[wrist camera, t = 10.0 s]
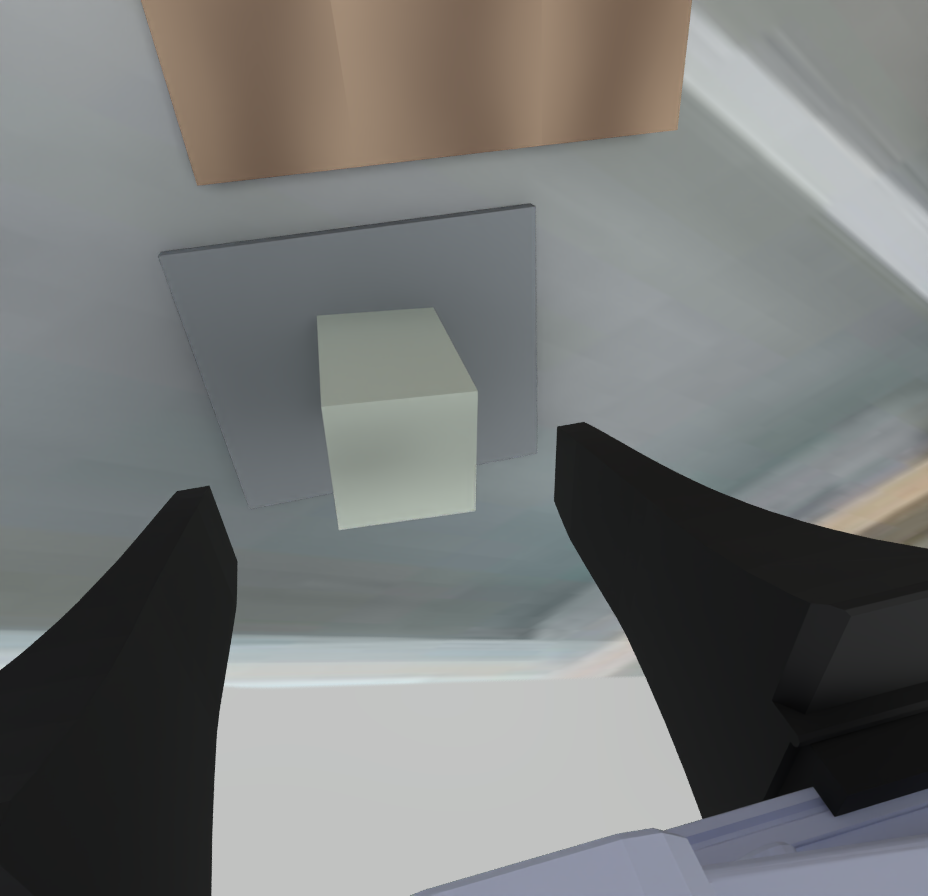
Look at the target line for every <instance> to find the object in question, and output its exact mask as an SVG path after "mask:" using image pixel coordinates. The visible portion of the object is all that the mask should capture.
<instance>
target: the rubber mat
mask: <svg viewBox="0 0 928 896" xmlns="http://www.w3.org/2000/svg"><path fill="white" fill-rule="evenodd" d="M158 258H159V260H160V263H161V266H162V269H163V271H164V274H165V277H166V280H167V283H168V285H169V288H170V291H171V294H172V296H173V299H174V302H175V305H176V307H177V310H178V313H179V316H180V318H181V321H182V324H183V327H184V329H185V332H186V335H187V338H188V341H189V343H190V346H191V349H192V352H193V354H194V357H195V360H196V363H197V365H198V368H199V371H200V374H201V376H202V379H203V382H204V385H205V388H206V390H207V393H208V396H209V399H210V401H211V404H212V407H213V410H214V412H215V415H216V418H217V421H218V423H219V426H220V429H221V432H222V435H223V437H224V440H225V443H226V446H227V448H228V451H229V454H230V457H231V459H232V462H233V465H234V468H235V470H236V473H237V476H238V479H239V481H240V484H241V487H242V490H243V493H244V495H245V498H246V501H247V504H248V506H249V509H255V508H260V507H265V506H270V505H275V504H280V503H285V502H290V501H296V500H301V499H306V498H311V497H316V496H321V495H326V494H332V493H333V486H332V479H331V472H330V465H329V458H328V451H327V444H326V437H325V430H324V423H323V416H322V409H321V393H320V372H319V352H318V331H317V316H319V315H333V314H347V313H361V312H375V311H389V310H403V309H417V308H431V307H433V308H434V310H435V312H436V313H437V315H438V317H439V319H440V321H441V323H442V325H443V327H444V328H445V330H446V332H447V334H448V336H449V338H450V340H451V342H452V343H453V345H454V347H455V349H456V351H457V353H458V355H459V357H460V358H461V360H462V362H463V364H464V366H465V368H466V370H467V372H468V373H469V375H470V377H471V379H472V381H473V383H474V385H475V387H476V388H477V390H478V410H477V457H476V465H480V464H485V463H491V462H496V461H501V460H506V459H511V458H516V457H521V456H526V455H532V454H537V347H536V206H534V205H532V204H524V205H517V206H509V207H501V208H494V209H486V210H478V211H471V212H463V213H455V214H448V215H440V216H432V217H425V218H417V219H410V220H402V221H394V222H387V223H379V224H371V225H364V226H356V227H348V228H341V229H333V230H325V231H318V232H310V233H302V234H295V235H287V236H280V237H272V238H264V239H257V240H249V241H241V242H234V243H226V244H218V245H211V246H203V247H195V248H188V249H180V250H172V251H165V252H161V253H160V254H159V256H158Z"/></svg>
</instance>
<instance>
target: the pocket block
mask: <svg viewBox="0 0 928 896" xmlns="http://www.w3.org/2000/svg"><path fill="white" fill-rule="evenodd" d="M141 2H142V5H143V9H144V12H145V15H146V18H147V22H148V25H149V28H150V32H151V35H152V38H153V41H154V45H155V48H156V51H157V55H158V58H159V61H160V64H161V68H162V71H163V74H164V78H165V81H166V84H167V87H168V91H169V94H170V97H171V101H172V104H173V107H174V110H175V114H176V117H177V120H178V123H179V127H180V130H181V133H182V137H183V140H184V143H185V146H186V150H187V153H188V156H189V160H190V163H191V166H192V169H193V173H194V176H195V179H196V183H197V186H199V185H207V184H216V183H224V182H233V181H242V180H250V179H259V178H267V177H276V176H285V175H293V174H302V173H310V172H319V171H328V170H336V169H345V168H353V167H362V166H371V165H379V164H388V163H396V162H405V161H414V160H422V159H431V158H439V157H448V156H457V155H465V154H474V153H482V152H491V151H500V150H508V149H517V148H525V147H534V146H543V145H551V144H560V143H568V142H577V141H586V140H594V139H603V138H611V137H620V136H629V135H637V134H646V133H654V132H663V131H672V130H677V128H678V119H679V110H680V101H681V93H682V84H683V75H684V66H685V57H686V48H687V40H688V31H689V22H690V13H691V4H692V0H141Z"/></svg>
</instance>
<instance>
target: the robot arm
mask: <svg viewBox="0 0 928 896" xmlns="http://www.w3.org/2000/svg"><path fill="white" fill-rule="evenodd" d="M554 502H555V505H556V507H557V509H558V512H559V514H560V517H561V519H562V522H563V524H564V527H565V529H566V531H567V533H568V536H569V538H570V540H571V542H572V543H573V545H574V547H575V549H576V550H577V552H578V554H579V555H580V557H581V559H582V561H583V562H584V564H585V566H586V567H587V569H588V571H589V572H590V574H591V576H592V577H593V579H594V581H595V582H596V584H597V586H598V587H599V589H600V591H601V592H602V594H603V596H604V597H605V599H606V601H607V602H608V604H609V606H610V607H611V609H612V611H613V612H614V614H615V616H616V617H617V619H618V621H619V623H620V625H621V627H622V628H623V630H624V632H625V634H626V636H627V638H628V640H629V642H630V644H631V647H632V649H633V651H634V653H635V655H636V657H637V660H638V662H639V664H640V666H641V668H642V670H643V673H644V675H645V677H646V679H647V682H648V684H649V686H650V688H651V691H652V693H653V695H654V698H655V700H656V702H657V705H658V707H659V709H660V711H661V714H662V716H663V719H664V721H665V723H666V726H667V728H668V731H669V733H670V736H671V738H672V741H673V743H674V746H675V748H676V751H677V753H678V756H679V758H680V761H681V763H682V765H683V768H684V771H685V773H686V776H687V779H688V781H689V784H690V787H691V789H692V792H693V795H694V797H695V800H696V803H697V805H698V808H699V811H700V813H701V816H702V819H701V820H698V821H695V822H691V823H688V824H684V825H681V826H678V827H674V828H671V829H668V830H664V831H663V830H659V829H655V828H650V829H644V830H638V831H631V832H625V833H619V834H615V835H611V836H608V837H605V838H601V839H598V840H594V841H591V842H587V843H584V844H580V845H577V846H574V847H570V848H567V849H563V850H560V851H556V852H553V853H550V854H546V855H543V856H539V857H536V858H532V859H529V860H525V861H522V862H519V863H515V864H512V865H508V866H505V867H501V868H498V869H494V870H491V871H488V872H484V873H481V874H477V875H474V876H471V877H467V878H464V879H460V880H457V881H453V882H450V883H446V884H443V885H440V886H436V887H433V888H429V889H426V890H423V891H420V892H418V893H415V894H413V895H410V896H928V549H926V548H921V547H915V546H910V545H904V544H898V543H893V542H887V541H881V540H876V539H871V538H867V537H862V536H858V535H854V534H850V533H845V532H841V531H837V530H833V529H829V528H825V527H821V526H817V525H814V524H810V523H806V522H803V521H800V520H797V519H793V518H790V517H787V516H784V515H780V514H777V513H774V512H771V511H768V510H765V509H762V508H759V507H756V506H753V505H751V504H748V503H746V502H743V501H740V500H738V499H735V498H733V497H730V496H728V495H725V494H723V493H720V492H718V491H715V490H713V489H711V488H708V487H706V486H704V485H702V484H700V483H698V482H695V481H693V480H691V479H689V478H687V477H685V476H683V475H681V474H679V473H677V472H675V471H673V470H671V469H669V468H667V467H665V466H663V465H661V464H659V463H657V462H656V461H654V460H652V459H650V458H648V457H646V456H645V455H643V454H641V453H639V452H637V451H636V450H634V449H632V448H630V447H629V446H627V445H625V444H623V443H622V442H620V441H618V440H616V439H615V438H613V437H611V436H609V435H608V434H606V433H604V432H602V431H600V430H599V429H597V428H595V427H593V426H591V425H589V424H587V423H585V422H581V423H576V424H570V425H564V426H558V427H557V445H556V468H555V491H554ZM236 604H237V559H236V557H235V554H234V551H233V548H232V546H231V543H230V540H229V537H228V535H227V532H226V529H225V527H224V524H223V521H222V518H221V516H220V513H219V510H218V508H217V505H216V502H215V499H214V497H213V494H212V491H211V489H210V486H205V487H199V488H193V489H187V490H181V491H177V492H176V493H175V494H174V495H173V496H172V497H171V498H170V500H169V501H168V502H167V503H166V504H165V505H164V507H163V508H162V509H161V510H160V511H159V513H158V514H157V515H156V516H155V517H154V519H153V520H152V521H151V522H150V523H149V525H148V526H147V527H146V528H145V529H144V531H143V532H142V533H141V534H140V535H139V536H138V538H137V539H136V540H135V541H134V542H133V543H132V544H131V546H130V547H129V548H128V549H127V550H126V551H125V553H124V554H123V555H122V556H121V557H120V558H119V559H118V561H117V562H116V563H115V564H114V565H113V566H112V567H111V568H110V569H109V570H108V571H107V572H106V573H105V574H104V575H103V576H102V578H101V579H100V580H99V581H98V582H97V583H96V584H95V585H94V586H93V587H92V588H91V589H90V590H89V591H88V592H87V593H86V594H85V595H84V596H83V597H82V598H81V600H80V601H79V602H78V603H77V604H76V605H75V606H73V607H72V608H71V609H70V610H69V611H68V612H67V613H66V614H65V615H64V616H63V617H62V618H61V619H60V620H59V621H58V622H57V623H56V624H54V625H53V626H52V627H51V628H50V629H49V630H48V631H47V632H45V633H44V634H43V635H42V636H41V637H40V638H39V639H38V640H36V641H35V642H34V643H33V644H32V645H31V646H30V647H28V648H27V649H26V650H25V651H24V652H23V653H21V654H20V655H19V656H18V657H16V658H15V659H14V660H13V661H11V662H10V663H9V664H8V665H6V666H5V667H4V668H2V669H1V670H0V896H211V880H212V879H211V877H212V825H213V800H214V776H215V775H214V774H215V756H216V739H217V727H218V719H219V711H220V704H221V698H222V692H223V686H224V680H225V674H226V668H227V662H228V656H229V650H230V644H231V638H232V632H233V626H234V619H235V613H236Z"/></svg>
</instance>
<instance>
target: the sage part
mask: <svg viewBox="0 0 928 896" xmlns="http://www.w3.org/2000/svg"><path fill="white" fill-rule="evenodd" d="M317 331H318V352H319V372H320V393H321V409H322V416H323V423H324V430H325V437H326V444H327V451H328V458H329V465H330V472H331V479H332V486H333V493H334V500H335V507H336V513H337V520H338V527H339V530H343V529H350V528H357V527H364V526H371V525H379V524H386V523H393V522H400V521H407V520H414V519H421V518H429V517H436V516H443V515H450V514H457V513H464V512H471V511H475V503H476V457H477V410H478V390H477V388H476V387H475V385H474V383H473V381H472V379H471V377H470V375H469V373H468V372H467V370H466V368H465V366H464V364H463V362H462V360H461V358H460V357H459V355H458V353H457V351H456V349H455V347H454V345H453V343H452V342H451V340H450V338H449V336H448V334H447V332H446V330H445V328H444V327H443V325H442V323H441V321H440V319H439V317H438V315H437V313H436V312H435V310H434V308H433V307H431V308H417V309H403V310H389V311H375V312H361V313H347V314H333V315H319V316H317Z"/></svg>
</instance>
